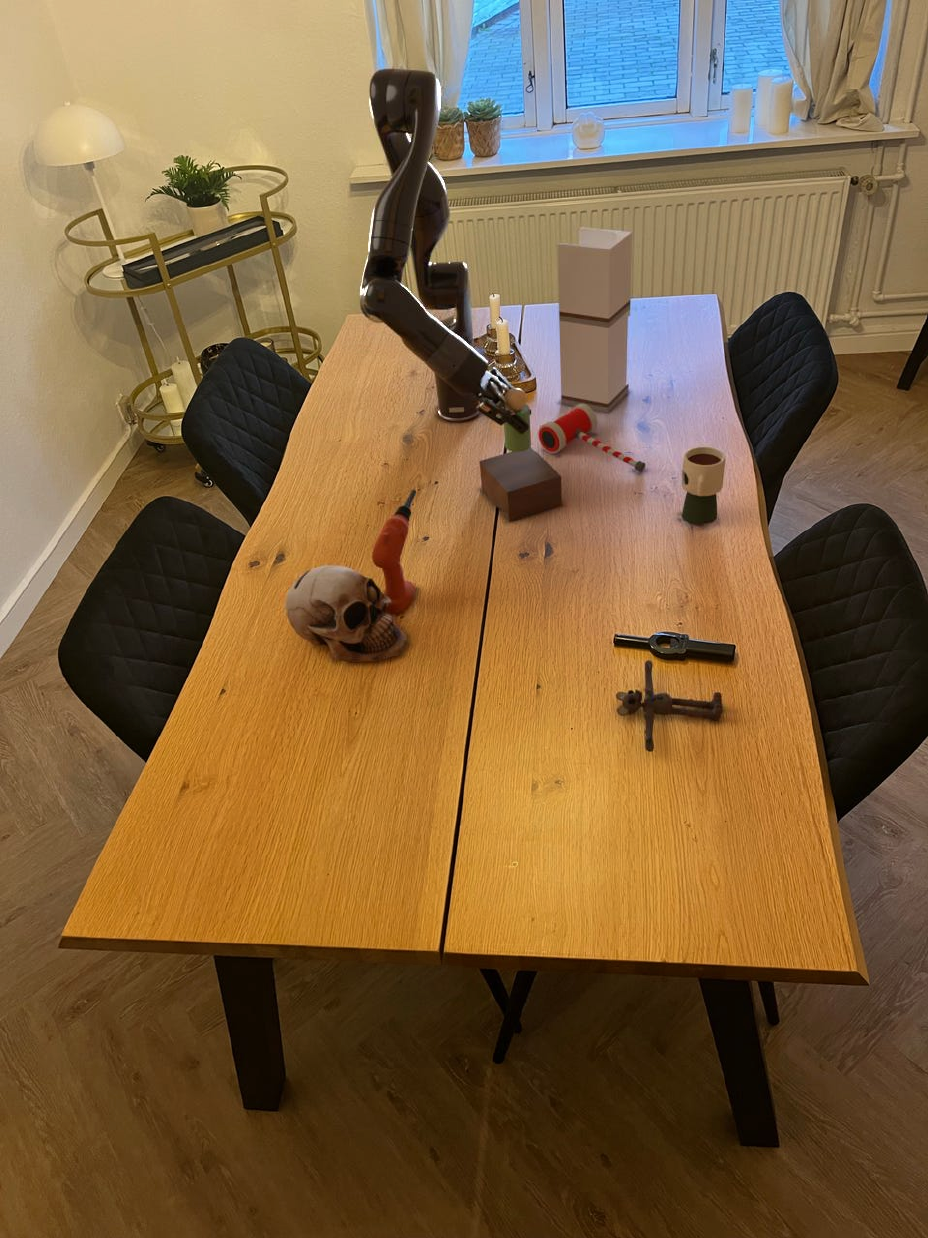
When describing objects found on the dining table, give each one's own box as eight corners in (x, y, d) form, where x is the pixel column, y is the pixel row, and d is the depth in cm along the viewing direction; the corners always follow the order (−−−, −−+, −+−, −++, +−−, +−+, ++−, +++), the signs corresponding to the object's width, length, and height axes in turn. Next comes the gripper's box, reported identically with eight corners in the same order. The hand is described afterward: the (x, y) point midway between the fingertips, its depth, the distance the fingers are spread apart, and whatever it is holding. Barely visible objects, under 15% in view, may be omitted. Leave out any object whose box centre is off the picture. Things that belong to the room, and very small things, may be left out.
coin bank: (411, 653, 146) (390, 587, 138) (306, 686, 145) (278, 622, 137) (394, 598, 159) (374, 534, 150) (298, 628, 158) (272, 566, 149)
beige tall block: (628, 391, 208) (632, 231, 186) (607, 412, 202) (609, 249, 179) (582, 383, 214) (581, 226, 191) (561, 403, 207) (557, 243, 185)
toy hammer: (661, 459, 185) (662, 431, 181) (624, 484, 179) (624, 455, 175) (574, 426, 198) (574, 399, 194) (537, 448, 193) (536, 420, 189)
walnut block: (482, 489, 182) (479, 460, 178) (532, 474, 185) (530, 445, 181) (509, 521, 173) (507, 492, 169) (561, 505, 175) (561, 475, 171)
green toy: (501, 443, 173) (497, 387, 165) (524, 436, 174) (521, 380, 167) (511, 454, 169) (508, 397, 162) (535, 447, 170) (533, 390, 163)
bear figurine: (727, 747, 122) (617, 734, 124) (721, 768, 125) (613, 756, 126) (718, 655, 136) (619, 645, 137) (713, 676, 138) (616, 666, 140)
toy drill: (437, 543, 167) (425, 478, 156) (405, 618, 155) (389, 553, 144) (412, 541, 168) (398, 475, 157) (378, 615, 156) (360, 550, 145)
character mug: (682, 500, 173) (686, 439, 165) (721, 503, 171) (727, 441, 163) (676, 533, 165) (680, 470, 157) (717, 537, 163) (723, 473, 155)
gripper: (464, 365, 155) (538, 428, 161) (474, 330, 166) (543, 391, 172) (436, 395, 159) (510, 455, 165) (448, 359, 170) (517, 417, 176)
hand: (526, 422), depth 168 cm, fingers closed on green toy, 4 cm apart
